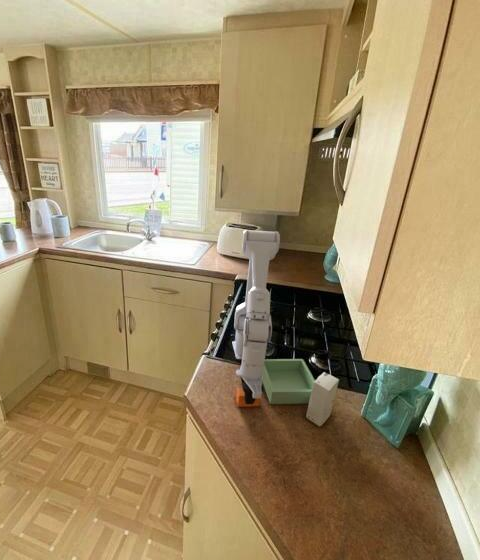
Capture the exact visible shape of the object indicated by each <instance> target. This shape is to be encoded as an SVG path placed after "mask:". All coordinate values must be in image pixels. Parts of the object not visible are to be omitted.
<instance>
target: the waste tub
mask: <svg viewBox="0 0 480 560" xmlns="http://www.w3.org/2000/svg"><path fill="white" fill-rule="evenodd" d="M315 380H316V379H315V378H314V376H313V374H312V372H311V370H310V369H309V367H308V365H307V364H306V362H305V360H304V359H303V358H276V359H275V358H273V359H272V358H270V359H268V358H265V361H264V368H263V379H262V384H263V386H264V391H265V393H266V396H267V399H268V402H269V405H296V404H297V405H298V404H301V405H303V404H309V401H310V396H311V392H312V387H313V383H314V382H315Z"/></svg>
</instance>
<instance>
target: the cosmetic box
mask: <svg viewBox="0 0 480 560" xmlns="http://www.w3.org/2000/svg"><path fill="white" fill-rule="evenodd" d="M314 380H315V382H314V383H313V387H312V392H311V396H310V401H309V403H308V404H307V405H308V406H307V409H306V410H307V411H306V415H305V418H306V419H307V420H309V421H311V423H314V424H315V425H317V426H318V427H321V426H322V425H323V424H324V423H326V421H327V420H328V419H329V418H330V416H331V413H332V409H333V405H334V403H335V398H336V395H337V390H338V386H339V382H340V379H339V378H337V377H335V376H333V375H331V374H329V373H327V372H325V371H324V372H322V373H321V374H320V375H319V376H317V378H316V379H314Z"/></svg>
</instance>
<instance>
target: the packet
mask: <svg viewBox="0 0 480 560" xmlns="http://www.w3.org/2000/svg"><path fill="white" fill-rule="evenodd" d="M261 399H262V397H261V398H256V400H255V402H254V403H253V404H246V402H245V393H244V391H243V388H242V387H237V388H236V396H235V400H236V405H237V407H239V408H241V407H244V408H245V407H246V408H247V407H260V404H261Z"/></svg>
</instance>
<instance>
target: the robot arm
mask: <svg viewBox="0 0 480 560" xmlns="http://www.w3.org/2000/svg"><path fill="white" fill-rule="evenodd" d="M280 242H281V234H280V233H279V231H270V230H269V231H267V230H252V229H245V230H244V231H243V233H242V242H241V243H242V244H241V252H242V254H243V255H244V256H245V258H247V259H248V260H249V262H248V270H247V271H248V272H247V281H246V288H245V289H246V290H245V300H244V302H242V303H240V304H238V305H237V306H236V308H235V312H234V320H233V321H234V323H233V328H234V330H235V336H234V337H235V338H234V341H232V342H231V344H232V348H233V352H234V355H235V359H236V360H241V364H240V368H239V369H236V370H235V374H236V376H237V377H238V378H240V381H241V383H240V384H241V388H243V391H244V393H245V402H246V404H253V403H254V402H255V400H256V398H261V399H262V395H263V392H264V391H265V388H264V385H263V382H262V379H263V368H264V361H265V359H266V354H267V347H268V343H270V342H271V339H272V333H273V325H272V315H271V293H270V291H269V290H268V289H267V282H268V274H269V265H270V261H271V260H274V259H275V257H276V255H277V253H278V252H279V249H280Z"/></svg>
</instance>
